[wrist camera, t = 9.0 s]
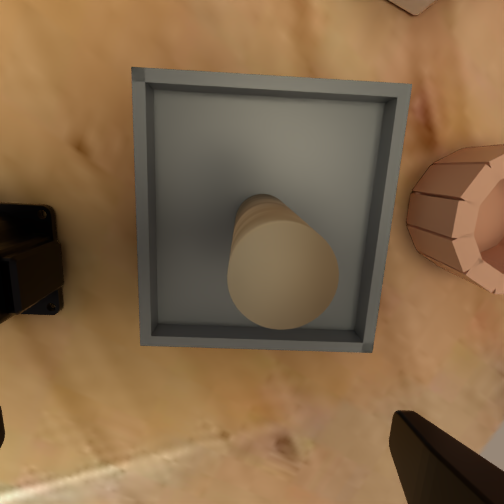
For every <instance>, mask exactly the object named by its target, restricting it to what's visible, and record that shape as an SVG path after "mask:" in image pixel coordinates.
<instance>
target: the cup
mask: <svg viewBox="0 0 504 504" xmlns="http://www.w3.org/2000/svg"><path fill="white" fill-rule="evenodd" d="M412 191H413V193H411V195H410V202H409V208H408V214H407V220H406V223H408V225H407V228H408V230H409V233H410V235H411V238H412V240H413V243H414V245H415V248H416V250H417V251H419V253H420V254H422V255H423V256H425V257H426V258H427V259H429V260H430V261H432V262H433V263H435V264H436V265H438V266H439V267H441V268H443V269H445V270H447V271H449V272H451V273H453V274H455V275H457V276H459V277H461V278H463V279H465V280H467V281H469V282H471V283H473V284H475V285H477V286H479V287H481V288H483V289H485V290H487V291H489V292H491V293H494V294H504V145H493V146H482V147H471V148H464V149H460V150H458V151H456V152H454V153H452V154H450V155H448V156H446V157H444V158H442V159H440V160H438V161H436V162H434V165H431V166H430V167H429V168H428V170H427V171H426V172H425V174H424V175H423V176H422V178H421V179H420V180H419V182H418V183H417V184H416V186H415V187H414V189H413V190H412Z"/></svg>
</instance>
